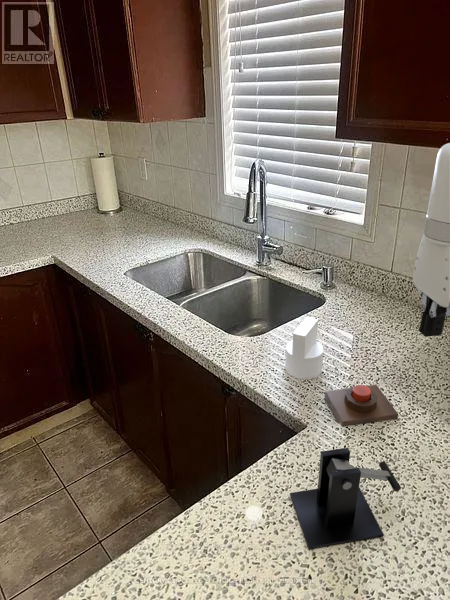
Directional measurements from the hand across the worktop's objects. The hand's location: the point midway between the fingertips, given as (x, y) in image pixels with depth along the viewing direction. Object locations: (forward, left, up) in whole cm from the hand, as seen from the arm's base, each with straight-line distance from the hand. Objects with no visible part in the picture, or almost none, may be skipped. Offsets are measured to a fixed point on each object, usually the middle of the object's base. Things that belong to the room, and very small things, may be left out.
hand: (430, 333), depth 75 cm
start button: (+5, -11, -22) cm, 25 cm away
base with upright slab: (+12, -28, -25) cm, 40 cm away
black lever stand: (+20, +13, -25) cm, 35 cm away
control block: (+5, -11, -25) cm, 28 cm away
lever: (+17, +13, -17) cm, 27 cm away
